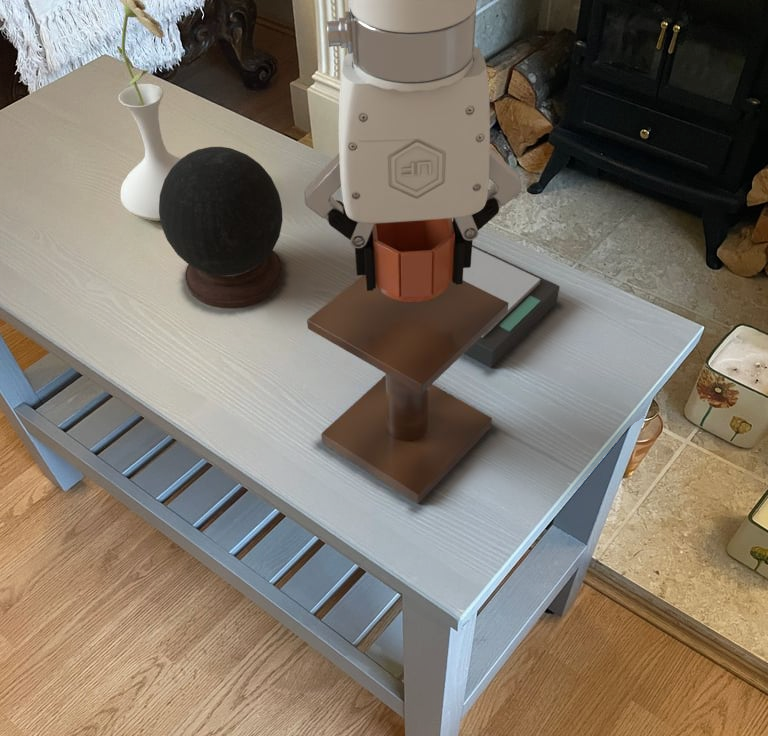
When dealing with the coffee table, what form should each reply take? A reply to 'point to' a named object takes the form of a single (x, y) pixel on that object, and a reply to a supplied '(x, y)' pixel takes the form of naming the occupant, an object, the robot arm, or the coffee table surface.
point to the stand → (407, 381)
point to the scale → (518, 289)
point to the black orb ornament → (223, 226)
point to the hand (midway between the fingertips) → (412, 274)
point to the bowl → (414, 258)
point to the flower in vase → (144, 129)
